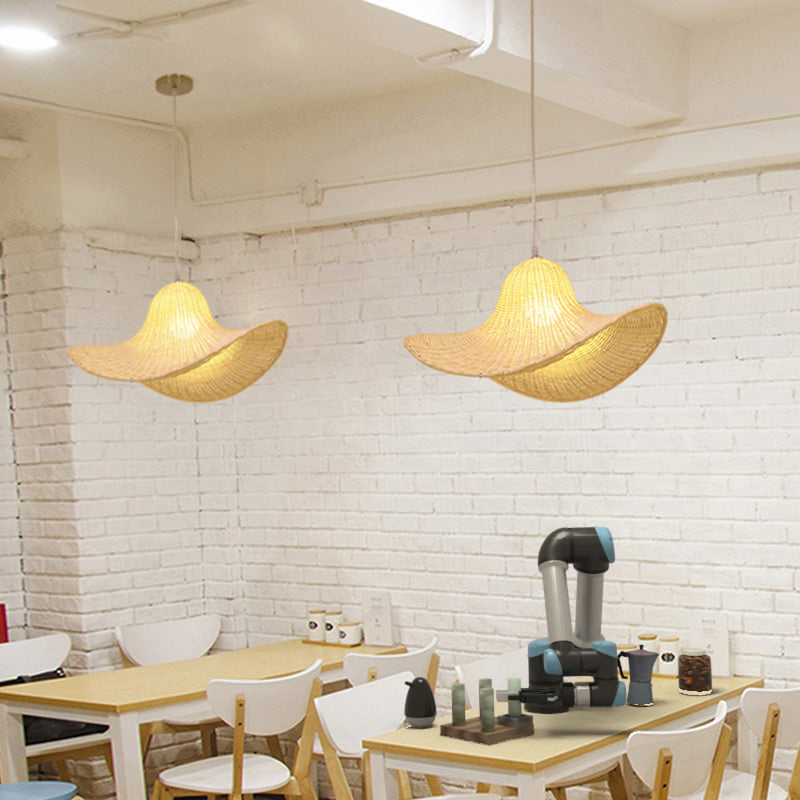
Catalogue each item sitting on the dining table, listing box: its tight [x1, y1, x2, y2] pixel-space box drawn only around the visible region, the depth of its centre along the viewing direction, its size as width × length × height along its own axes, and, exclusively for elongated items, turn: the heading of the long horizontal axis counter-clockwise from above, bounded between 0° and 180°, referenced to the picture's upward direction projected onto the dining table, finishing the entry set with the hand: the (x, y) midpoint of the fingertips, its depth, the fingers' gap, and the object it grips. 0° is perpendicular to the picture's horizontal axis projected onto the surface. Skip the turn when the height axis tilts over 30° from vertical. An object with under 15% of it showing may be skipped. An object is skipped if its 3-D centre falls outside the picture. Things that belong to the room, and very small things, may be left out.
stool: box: [439, 677, 535, 746], centre depth 355 cm, size 20×20×15 cm
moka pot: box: [617, 644, 660, 705], centre depth 396 cm, size 10×15×20 cm, turn 105°
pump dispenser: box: [403, 676, 438, 729], centre depth 369 cm, size 10×10×15 cm
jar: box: [677, 647, 713, 692], centre depth 415 cm, size 12×12×15 cm
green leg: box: [507, 677, 523, 719], centre depth 355 cm, size 4×4×12 cm
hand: (496, 695), depth 355 cm, fingers closed on green leg, 4 cm apart
